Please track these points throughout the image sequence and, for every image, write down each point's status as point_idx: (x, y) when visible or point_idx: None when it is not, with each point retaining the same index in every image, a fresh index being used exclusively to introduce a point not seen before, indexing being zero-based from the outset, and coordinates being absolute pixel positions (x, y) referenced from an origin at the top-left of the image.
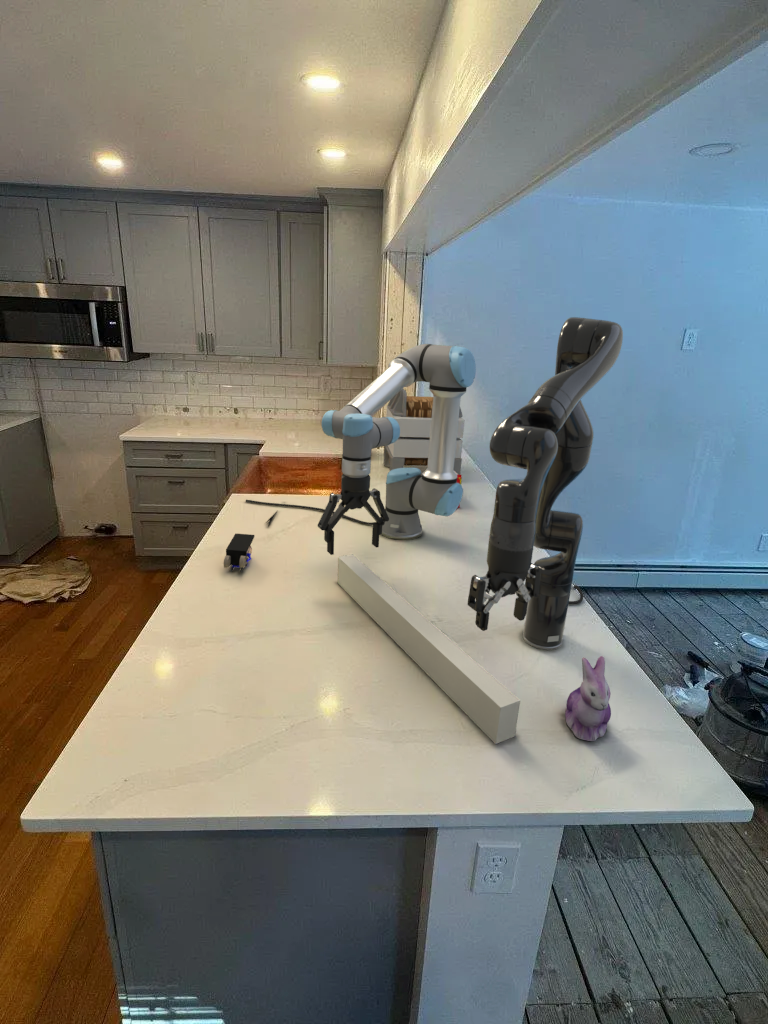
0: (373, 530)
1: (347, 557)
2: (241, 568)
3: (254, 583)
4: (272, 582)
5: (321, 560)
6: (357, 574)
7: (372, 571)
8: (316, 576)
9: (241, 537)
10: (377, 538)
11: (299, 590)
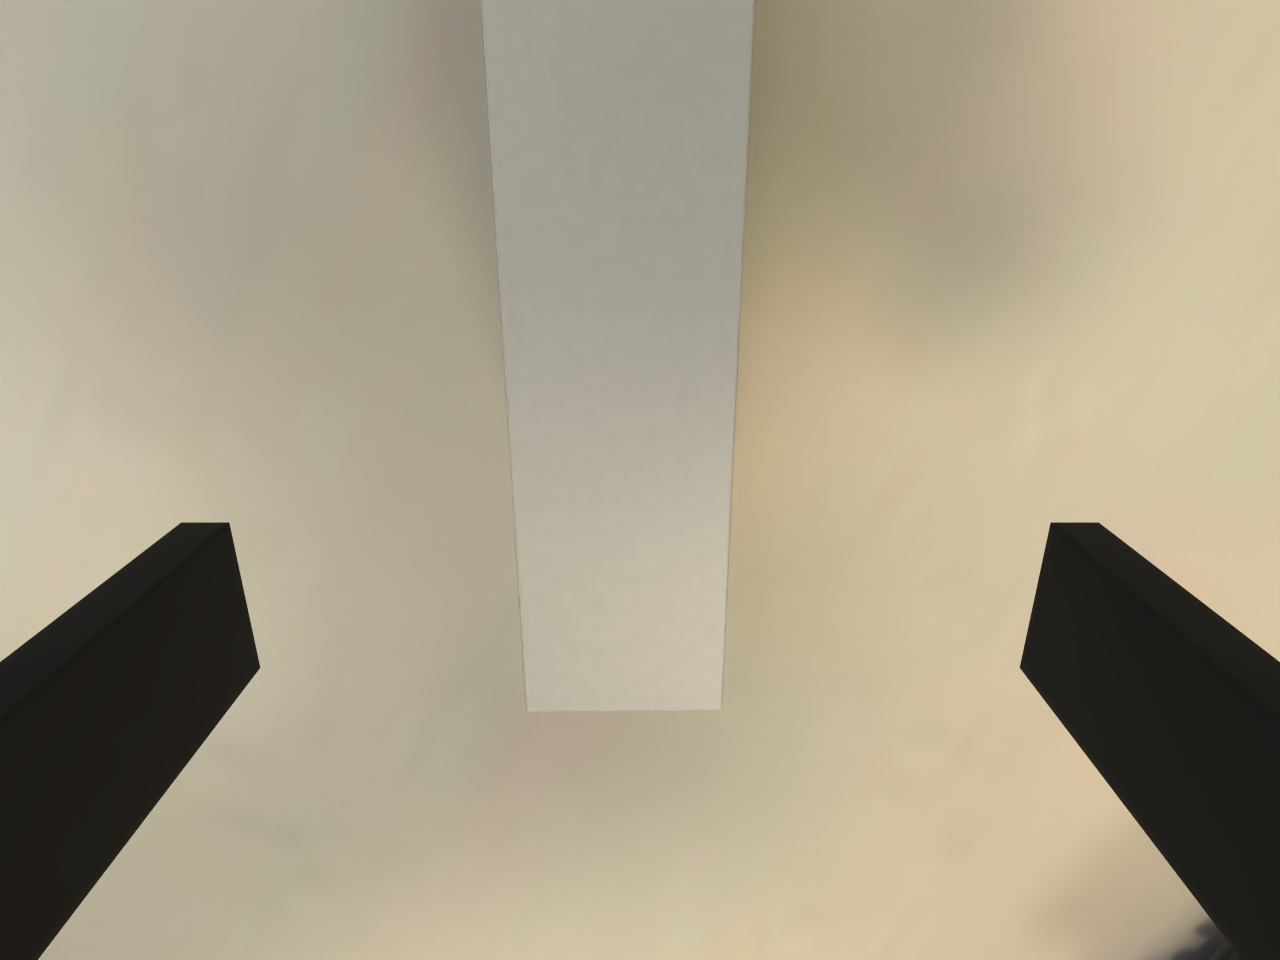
0: (81, 846)
1: (628, 656)
2: (1231, 955)
3: None
4: None
5: (642, 903)
6: (742, 150)
7: (495, 151)
8: (796, 707)
9: None
10: (105, 612)
11: (1032, 555)
